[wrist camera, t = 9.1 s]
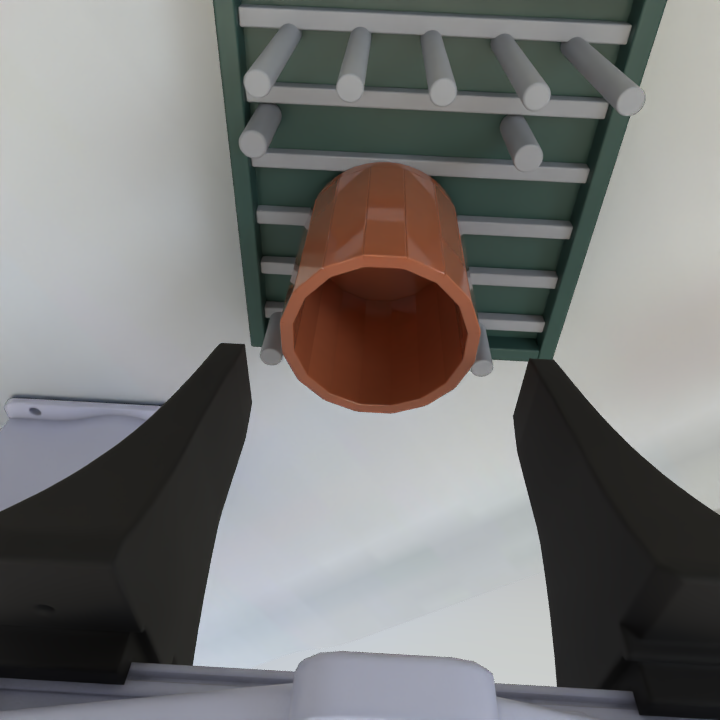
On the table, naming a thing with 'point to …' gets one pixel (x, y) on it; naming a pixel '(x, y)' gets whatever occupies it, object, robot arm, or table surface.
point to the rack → (436, 135)
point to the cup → (381, 293)
